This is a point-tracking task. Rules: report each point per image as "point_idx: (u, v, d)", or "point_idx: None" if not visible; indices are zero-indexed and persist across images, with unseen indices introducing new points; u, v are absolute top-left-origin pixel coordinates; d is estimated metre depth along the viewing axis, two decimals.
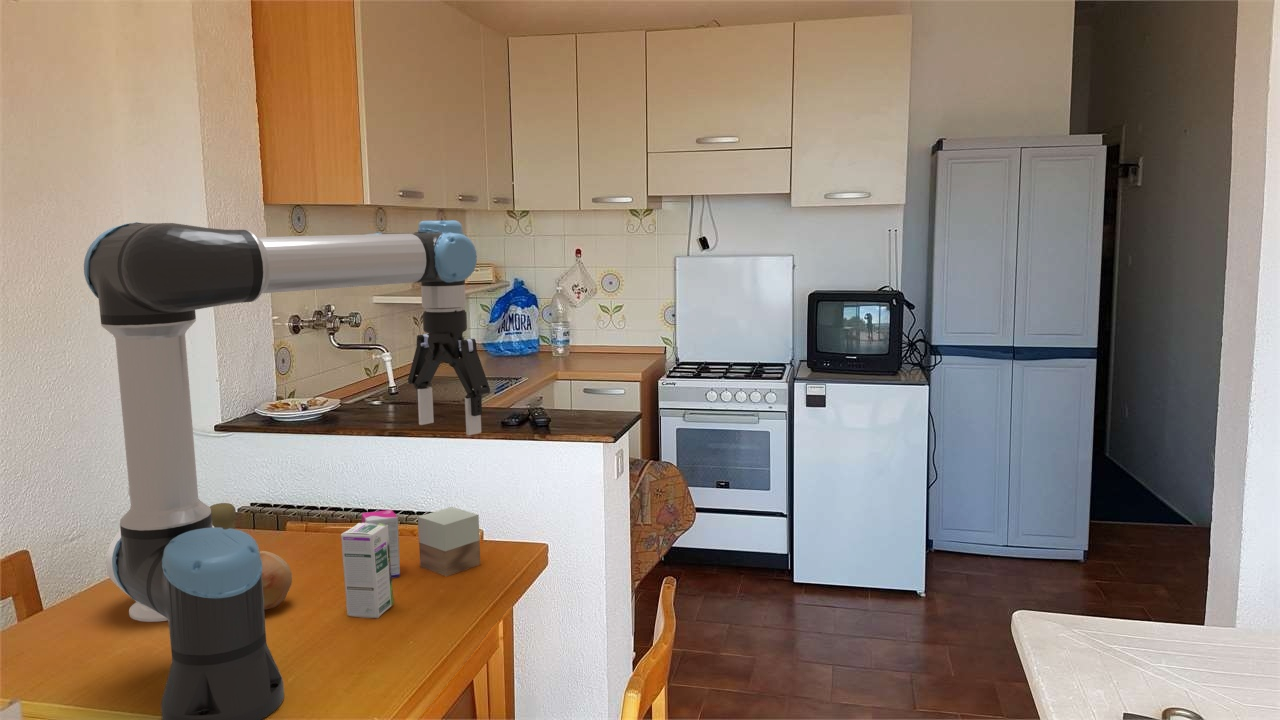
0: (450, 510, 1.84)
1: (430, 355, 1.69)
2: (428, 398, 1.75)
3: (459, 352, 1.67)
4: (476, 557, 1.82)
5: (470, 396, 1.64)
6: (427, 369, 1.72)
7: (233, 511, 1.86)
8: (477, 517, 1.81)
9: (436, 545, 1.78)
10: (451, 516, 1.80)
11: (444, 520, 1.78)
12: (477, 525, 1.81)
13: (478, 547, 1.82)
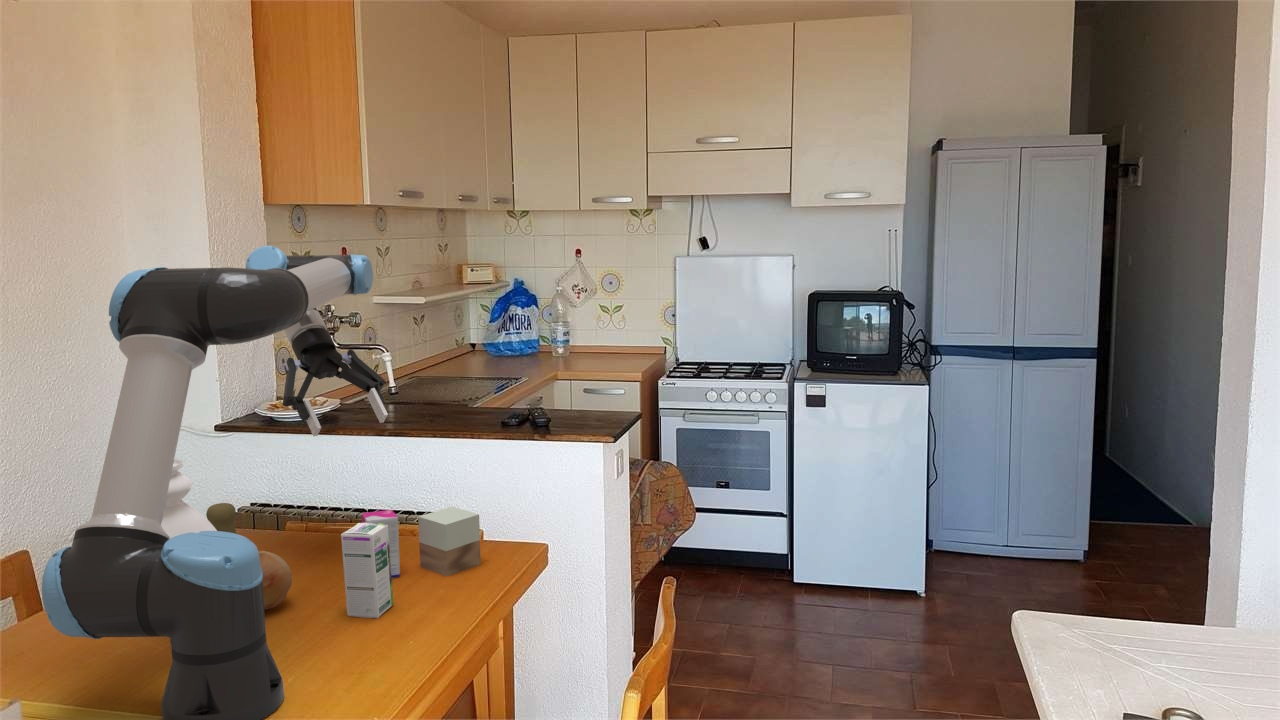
0: (450, 510, 1.84)
1: (316, 366, 1.83)
2: None
3: None
4: (476, 557, 1.82)
5: (378, 384, 1.88)
6: (310, 382, 1.81)
7: (233, 511, 1.86)
8: (477, 517, 1.81)
9: (437, 545, 1.78)
10: (451, 516, 1.80)
11: (445, 520, 1.78)
12: (478, 525, 1.81)
13: (478, 547, 1.82)
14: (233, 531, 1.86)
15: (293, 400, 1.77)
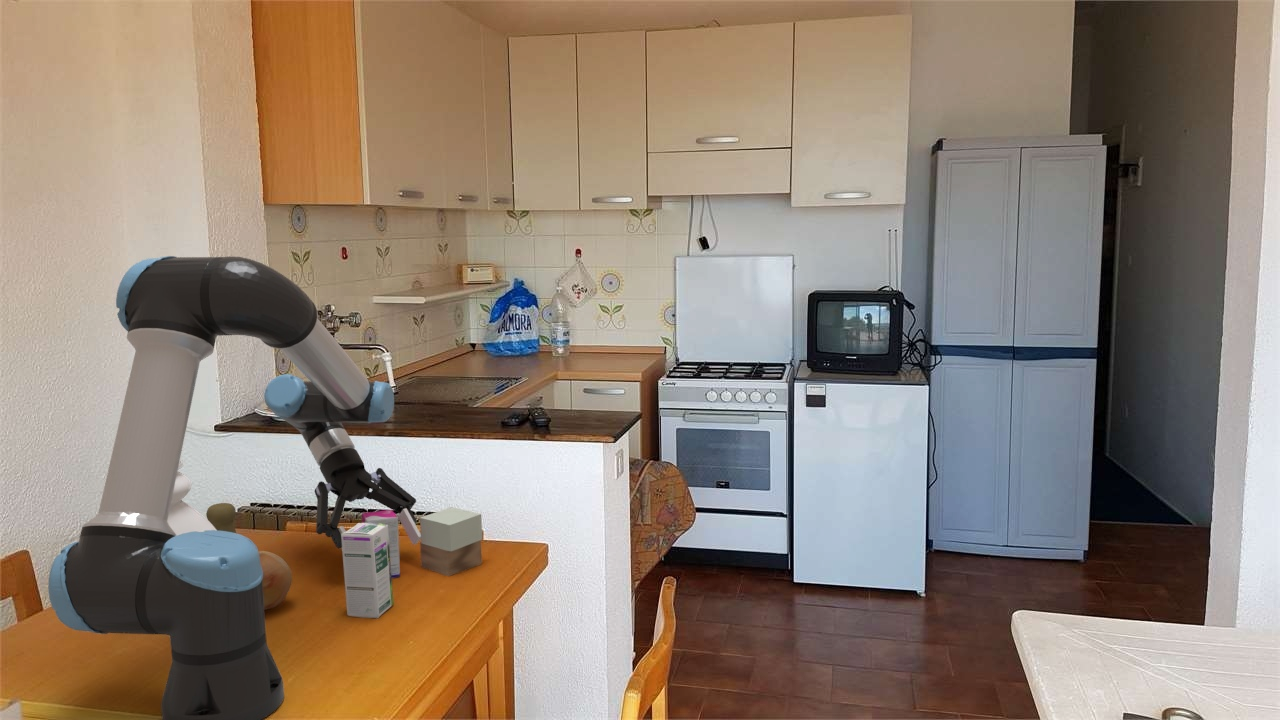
0: (451, 510, 1.84)
1: (348, 489, 1.78)
2: None
3: None
4: (477, 557, 1.82)
5: (410, 504, 1.84)
6: (343, 506, 1.76)
7: (233, 511, 1.86)
8: (479, 517, 1.81)
9: (441, 546, 1.77)
10: (454, 516, 1.80)
11: (448, 520, 1.78)
12: (480, 524, 1.82)
13: (479, 547, 1.82)
14: (233, 531, 1.86)
15: (328, 527, 1.72)
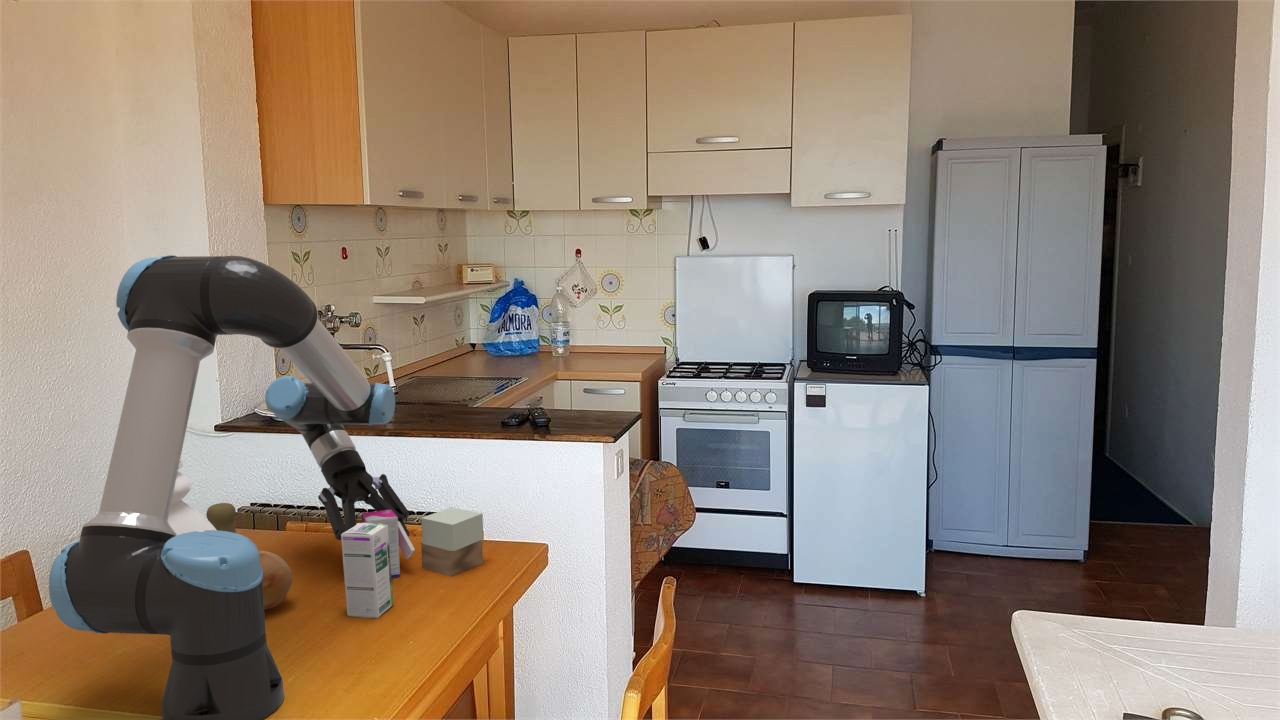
0: (451, 510, 1.84)
1: (352, 492, 1.78)
2: None
3: None
4: (479, 556, 1.82)
5: (403, 517, 1.81)
6: (354, 509, 1.77)
7: (233, 511, 1.86)
8: (481, 516, 1.82)
9: (443, 545, 1.77)
10: (455, 516, 1.80)
11: (450, 520, 1.78)
12: (481, 524, 1.82)
13: (481, 547, 1.82)
14: (233, 531, 1.86)
15: None
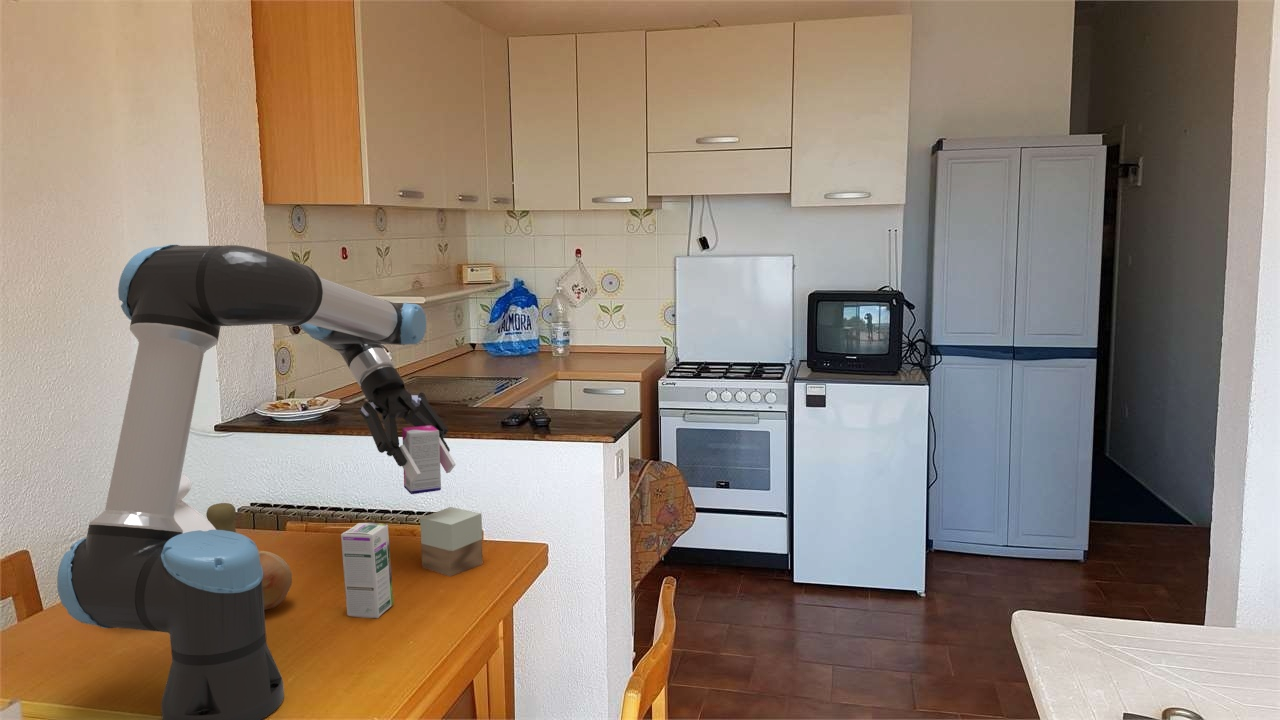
0: (450, 510, 1.84)
1: (393, 407, 1.80)
2: None
3: None
4: (478, 557, 1.82)
5: (443, 433, 1.82)
6: (395, 424, 1.78)
7: (233, 511, 1.86)
8: (480, 516, 1.82)
9: (442, 545, 1.77)
10: (454, 516, 1.80)
11: (449, 520, 1.78)
12: (480, 524, 1.82)
13: (481, 547, 1.82)
14: (233, 531, 1.86)
15: (390, 446, 1.74)
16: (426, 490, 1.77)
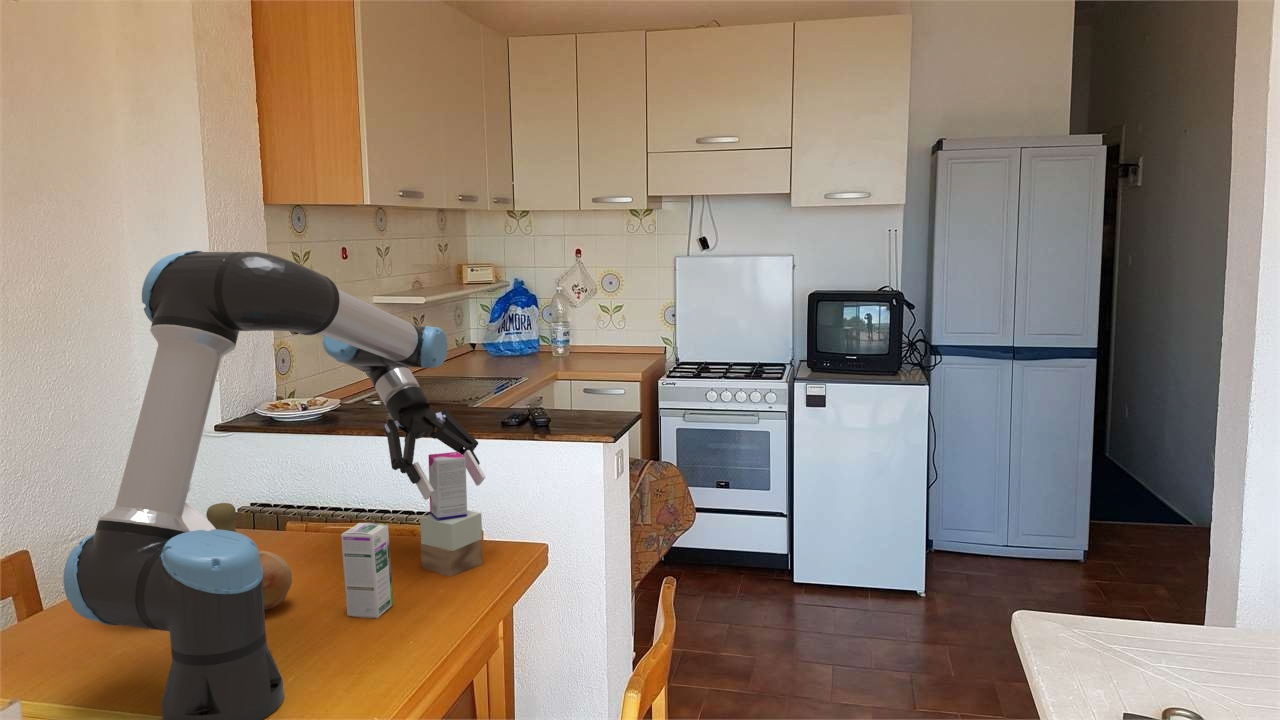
0: None
1: (416, 426, 1.81)
2: None
3: None
4: (478, 557, 1.82)
5: (473, 446, 1.85)
6: (414, 442, 1.79)
7: (233, 511, 1.86)
8: (480, 516, 1.82)
9: (442, 545, 1.77)
10: None
11: (449, 520, 1.78)
12: (480, 523, 1.82)
13: (480, 547, 1.82)
14: (233, 531, 1.86)
15: (403, 463, 1.75)
16: (453, 516, 1.78)
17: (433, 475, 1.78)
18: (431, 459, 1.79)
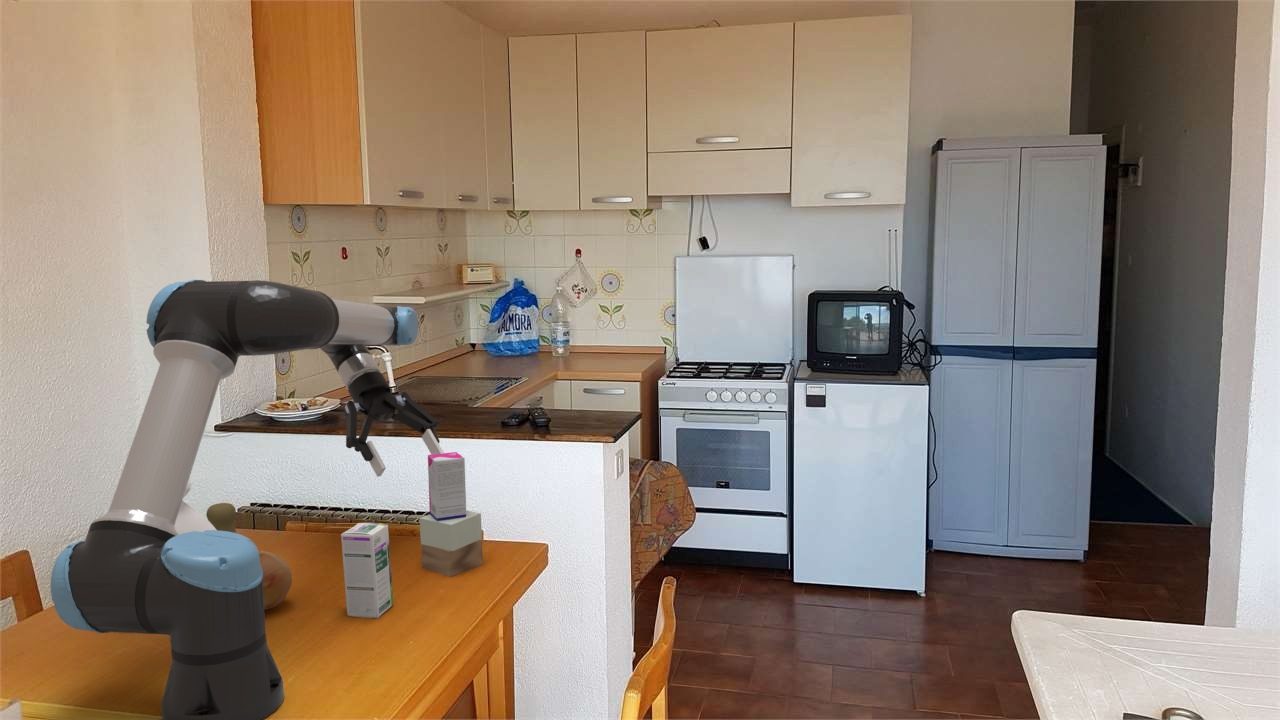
0: None
1: (375, 409, 1.89)
2: None
3: None
4: (478, 557, 1.82)
5: (433, 425, 1.94)
6: (371, 423, 1.87)
7: (233, 511, 1.86)
8: (479, 516, 1.82)
9: (442, 546, 1.77)
10: None
11: (449, 520, 1.78)
12: (480, 524, 1.82)
13: (481, 547, 1.82)
14: (233, 531, 1.86)
15: (357, 442, 1.82)
16: (452, 517, 1.78)
17: (432, 475, 1.78)
18: (430, 459, 1.78)
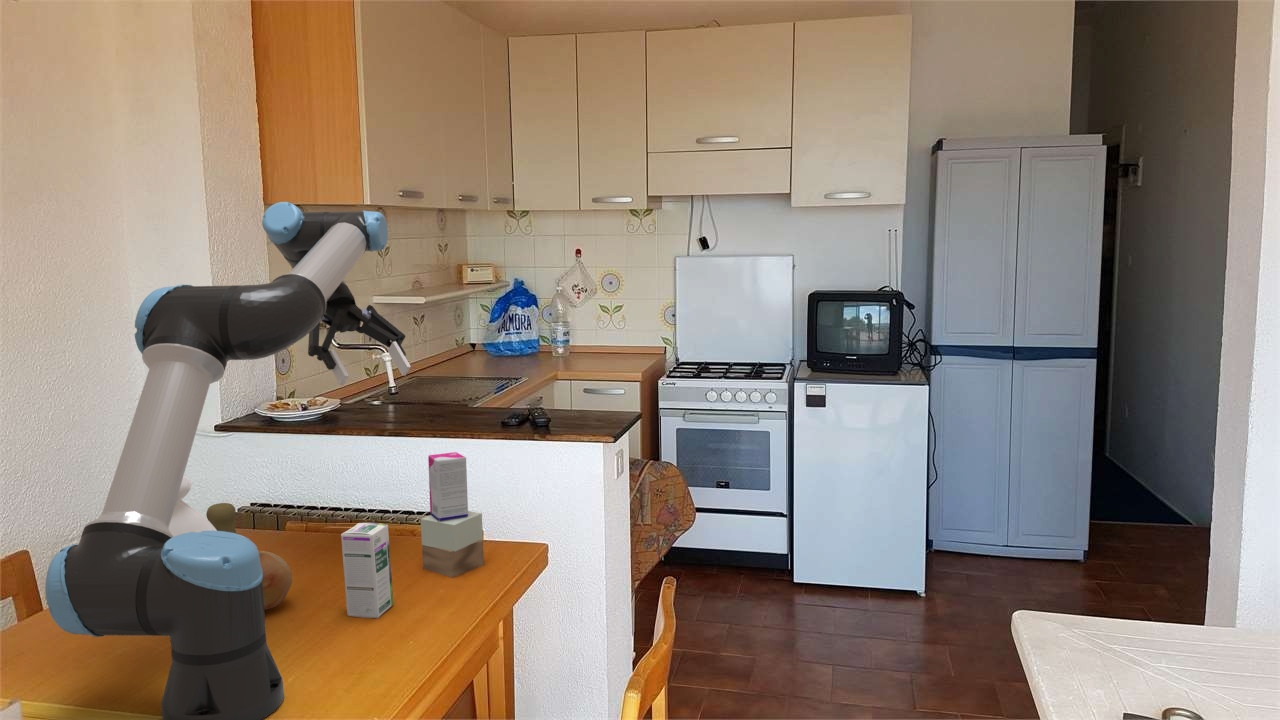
0: None
1: (339, 319, 1.85)
2: None
3: None
4: (480, 557, 1.81)
5: (399, 338, 1.90)
6: (334, 333, 1.82)
7: (233, 511, 1.86)
8: (480, 516, 1.82)
9: (444, 546, 1.77)
10: None
11: (450, 520, 1.77)
12: (481, 524, 1.82)
13: (482, 548, 1.82)
14: (233, 531, 1.86)
15: (319, 349, 1.78)
16: (454, 517, 1.78)
17: (434, 475, 1.78)
18: (431, 459, 1.78)
